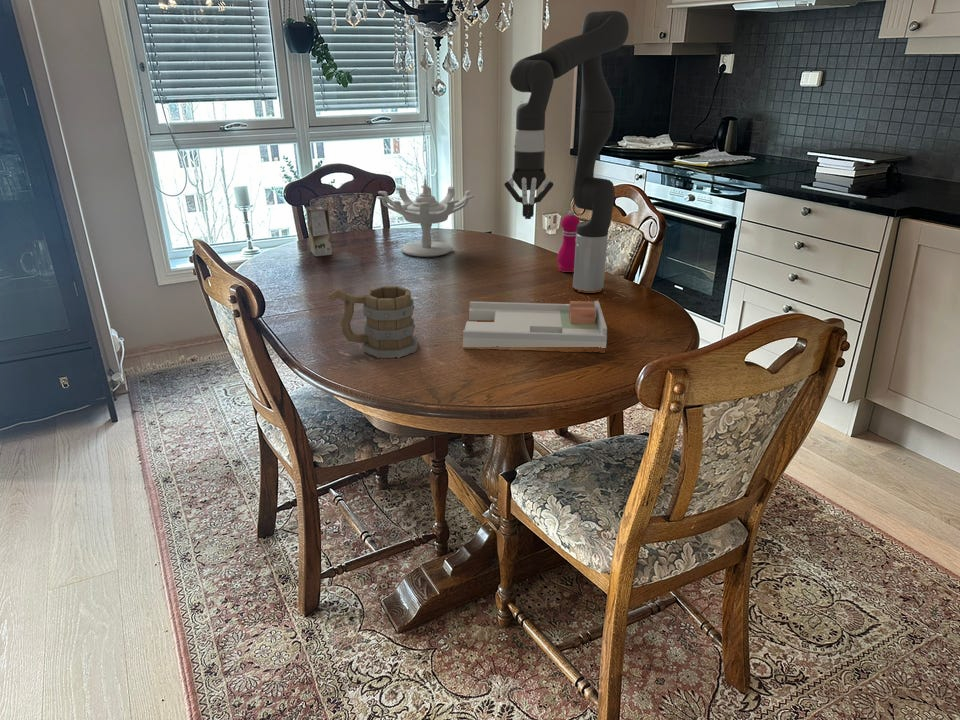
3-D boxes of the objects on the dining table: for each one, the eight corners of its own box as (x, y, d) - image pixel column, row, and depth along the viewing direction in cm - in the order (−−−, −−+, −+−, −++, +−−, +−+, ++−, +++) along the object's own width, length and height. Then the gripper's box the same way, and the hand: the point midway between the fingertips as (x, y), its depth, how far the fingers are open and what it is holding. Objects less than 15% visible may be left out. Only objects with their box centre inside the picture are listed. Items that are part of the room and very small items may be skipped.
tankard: (418, 337, 164) (416, 280, 158) (415, 358, 152) (413, 297, 146) (338, 338, 163) (333, 280, 157) (329, 359, 152) (323, 297, 146)
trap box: (470, 317, 178) (470, 296, 175) (596, 320, 176) (598, 299, 173) (462, 349, 158) (462, 325, 155) (605, 353, 156) (607, 330, 153)
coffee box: (332, 254, 235) (328, 209, 228) (314, 256, 232) (310, 211, 226) (326, 248, 242) (322, 205, 236) (309, 250, 240) (304, 206, 233)
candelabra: (383, 267, 221) (378, 184, 210) (377, 242, 252) (373, 169, 241) (482, 262, 227) (482, 182, 216) (464, 238, 259) (464, 167, 247)
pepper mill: (561, 274, 215) (565, 213, 207) (553, 268, 221) (556, 208, 213) (581, 273, 217) (586, 212, 208) (573, 267, 223) (577, 207, 215)
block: (569, 315, 171) (570, 301, 169) (592, 316, 170) (593, 301, 169) (570, 323, 165) (571, 308, 164) (594, 324, 165) (595, 309, 163)
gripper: (555, 146, 166) (552, 215, 173) (503, 146, 166) (502, 215, 174) (557, 150, 159) (554, 222, 166) (502, 150, 159) (502, 221, 167)
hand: (527, 218), depth 170 cm, fingers closed
